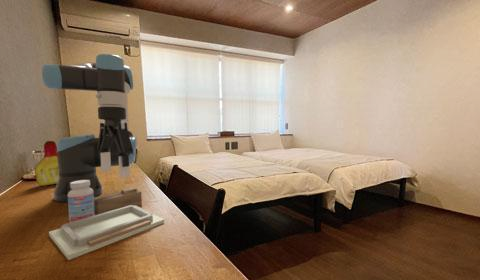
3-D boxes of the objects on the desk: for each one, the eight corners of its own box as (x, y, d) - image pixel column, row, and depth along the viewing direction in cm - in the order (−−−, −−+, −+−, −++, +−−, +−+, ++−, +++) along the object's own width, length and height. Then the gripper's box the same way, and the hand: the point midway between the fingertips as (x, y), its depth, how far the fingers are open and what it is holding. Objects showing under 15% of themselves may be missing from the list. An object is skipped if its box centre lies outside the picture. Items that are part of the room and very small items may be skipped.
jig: (49, 235, 55) (48, 225, 55) (136, 209, 72) (136, 201, 72) (68, 260, 45) (67, 248, 45) (164, 222, 62) (164, 214, 62)
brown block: (93, 213, 69) (92, 194, 69) (135, 202, 79) (134, 186, 79) (98, 218, 66) (97, 198, 66) (141, 205, 76) (141, 188, 75)
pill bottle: (69, 226, 60) (66, 185, 59) (69, 219, 64) (67, 181, 64) (95, 220, 63) (93, 181, 63) (94, 214, 68) (92, 178, 67)
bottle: (36, 188, 96) (33, 142, 94) (35, 185, 100) (32, 141, 99) (71, 182, 105) (68, 140, 103) (68, 180, 109) (65, 139, 107)
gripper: (84, 108, 74) (87, 171, 75) (116, 103, 58) (120, 182, 60) (108, 109, 80) (111, 168, 81) (144, 105, 64) (146, 177, 65)
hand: (114, 174), depth 70 cm, fingers open, 13 cm apart
